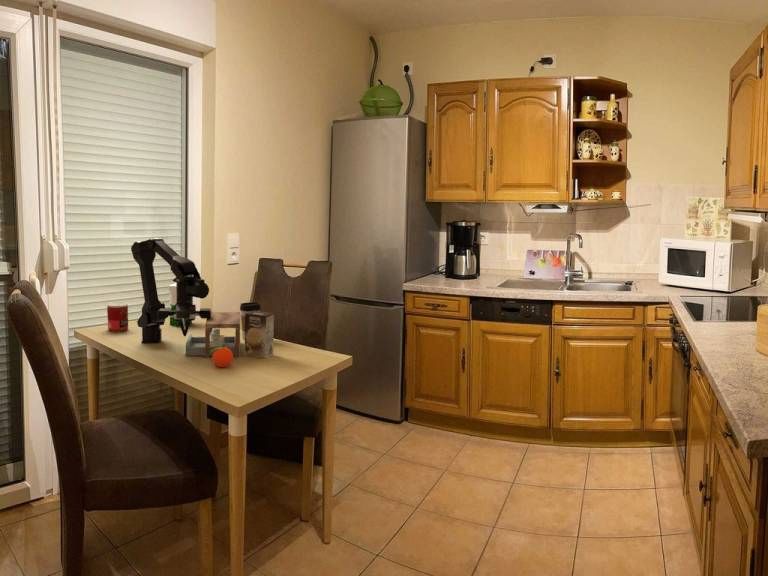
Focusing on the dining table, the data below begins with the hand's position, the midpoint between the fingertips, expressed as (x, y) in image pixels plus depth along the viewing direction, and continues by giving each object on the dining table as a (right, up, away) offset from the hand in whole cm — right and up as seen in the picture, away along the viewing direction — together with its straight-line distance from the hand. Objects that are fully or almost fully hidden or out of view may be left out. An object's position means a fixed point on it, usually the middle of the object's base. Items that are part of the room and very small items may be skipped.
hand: (185, 336), depth 216 cm
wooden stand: (+13, -6, +4) cm, 15 cm away
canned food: (-38, 0, +27) cm, 47 cm away
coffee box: (+28, -7, 0) cm, 29 cm away
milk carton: (-17, +1, +43) cm, 46 cm away
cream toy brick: (+10, -4, +3) cm, 12 cm away
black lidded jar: (+19, -3, +23) cm, 30 cm away
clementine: (+18, -9, -17) cm, 27 cm away
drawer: (+9, -5, +3) cm, 11 cm away
